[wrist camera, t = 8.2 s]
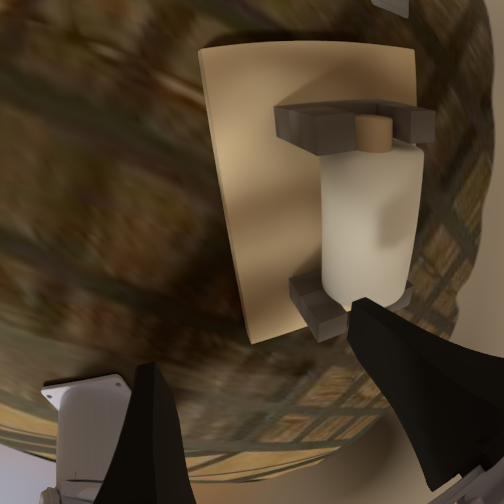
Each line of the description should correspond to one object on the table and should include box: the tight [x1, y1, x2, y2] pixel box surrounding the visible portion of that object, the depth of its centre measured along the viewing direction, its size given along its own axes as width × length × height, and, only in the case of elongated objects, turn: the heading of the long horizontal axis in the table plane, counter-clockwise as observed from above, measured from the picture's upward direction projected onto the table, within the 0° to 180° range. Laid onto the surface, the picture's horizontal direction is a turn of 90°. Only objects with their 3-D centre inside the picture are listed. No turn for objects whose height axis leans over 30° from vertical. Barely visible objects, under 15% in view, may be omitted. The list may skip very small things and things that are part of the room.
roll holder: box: [198, 41, 436, 344], centre depth 17 cm, size 19×13×6 cm
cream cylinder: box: [320, 114, 424, 307], centre depth 16 cm, size 11×5×5 cm, turn 7°
